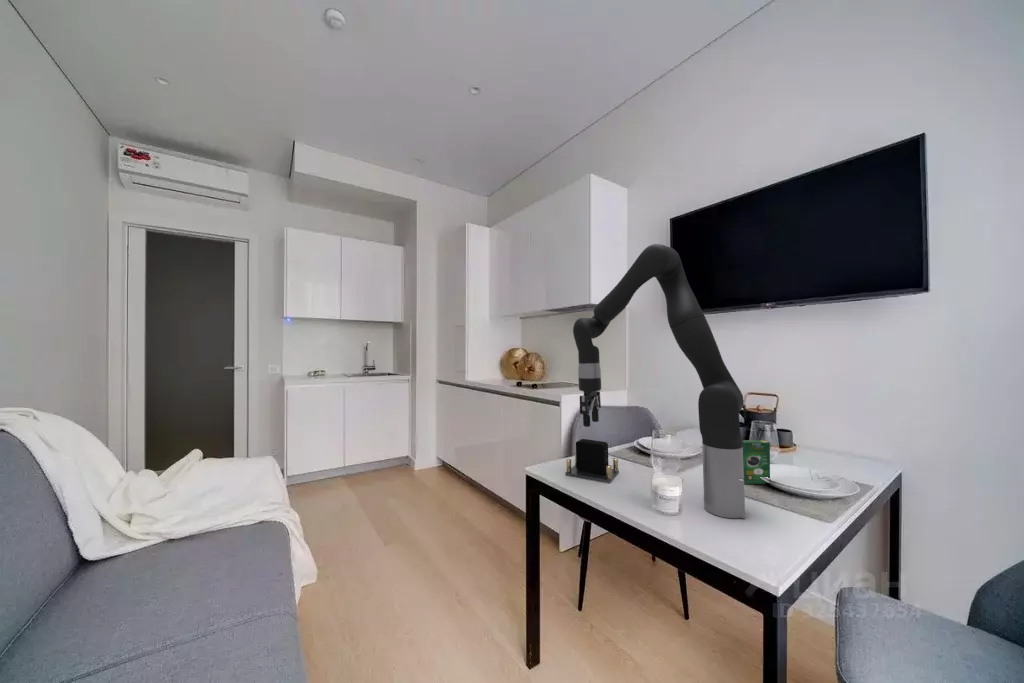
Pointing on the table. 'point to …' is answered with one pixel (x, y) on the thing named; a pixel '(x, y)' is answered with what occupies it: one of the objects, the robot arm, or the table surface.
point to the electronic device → (591, 456)
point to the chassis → (604, 478)
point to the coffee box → (756, 461)
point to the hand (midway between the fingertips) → (591, 424)
